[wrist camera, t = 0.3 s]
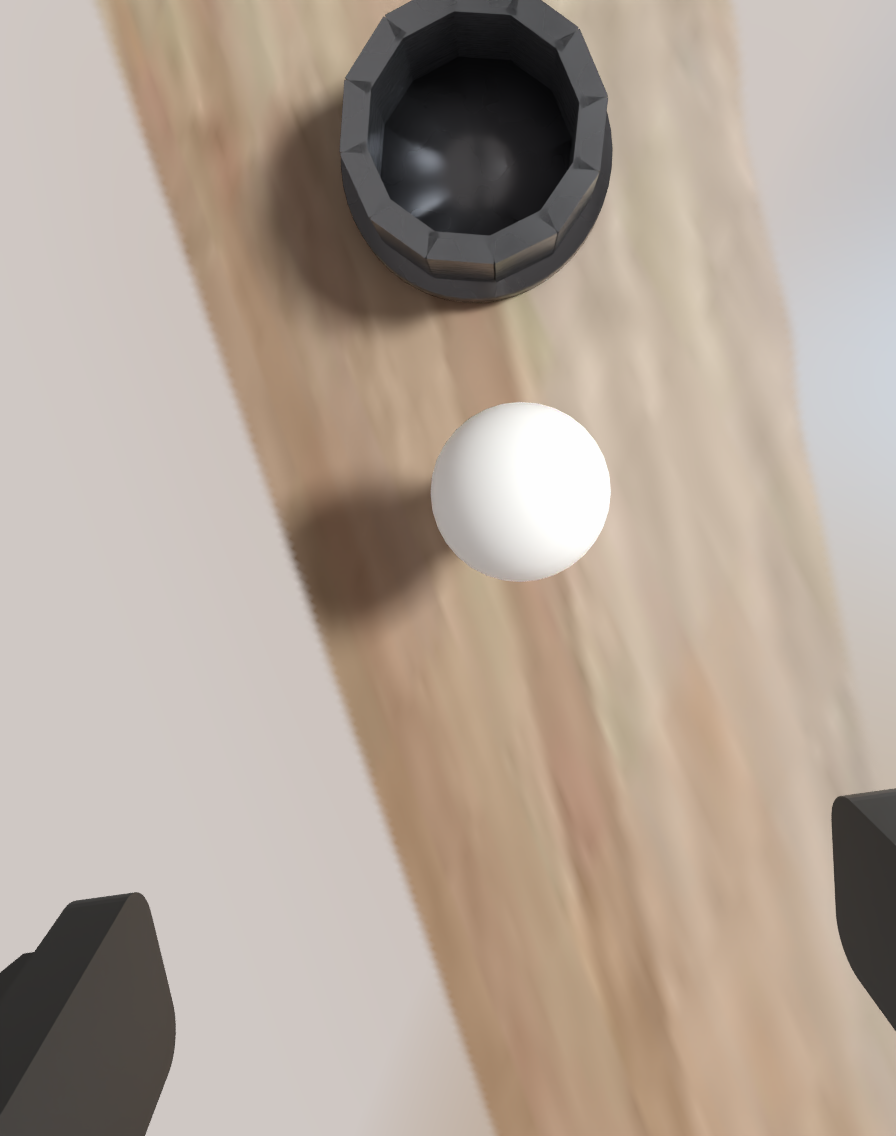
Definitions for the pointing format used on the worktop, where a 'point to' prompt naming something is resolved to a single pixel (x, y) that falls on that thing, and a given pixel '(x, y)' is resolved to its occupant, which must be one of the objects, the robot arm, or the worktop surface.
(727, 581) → the worktop surface
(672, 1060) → the worktop surface
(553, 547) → the lightbulb
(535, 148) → the socket holder
